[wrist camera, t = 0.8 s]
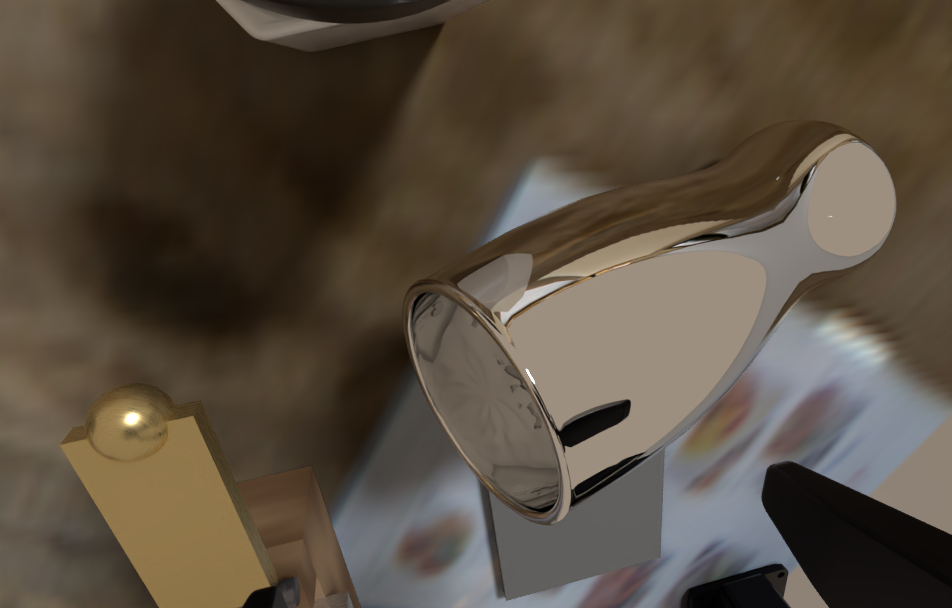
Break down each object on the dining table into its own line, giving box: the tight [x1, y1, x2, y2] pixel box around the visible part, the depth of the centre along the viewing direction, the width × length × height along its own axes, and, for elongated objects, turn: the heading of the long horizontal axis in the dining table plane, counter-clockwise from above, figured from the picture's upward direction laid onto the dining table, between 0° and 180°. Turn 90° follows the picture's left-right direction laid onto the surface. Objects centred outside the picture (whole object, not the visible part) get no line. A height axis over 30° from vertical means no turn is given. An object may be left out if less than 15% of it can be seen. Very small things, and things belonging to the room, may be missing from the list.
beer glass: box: [402, 120, 897, 526], centre depth 16 cm, size 7×7×15 cm
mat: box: [488, 448, 665, 601], centre depth 27 cm, size 9×9×1 cm
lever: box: [60, 383, 300, 608], centre depth 15 cm, size 9×4×2 cm, turn 8°
